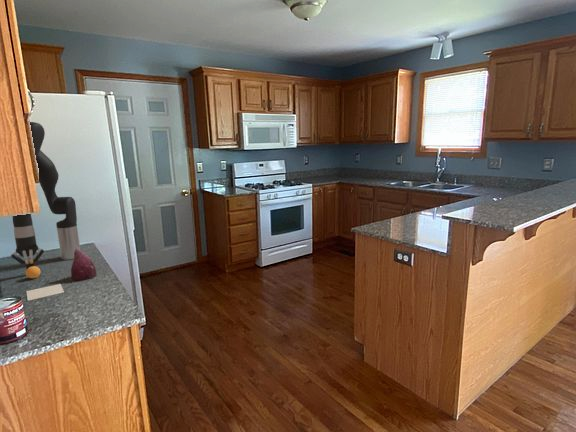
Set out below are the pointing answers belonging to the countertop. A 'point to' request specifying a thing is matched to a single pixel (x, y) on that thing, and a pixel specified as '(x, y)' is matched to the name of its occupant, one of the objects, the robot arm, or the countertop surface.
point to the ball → (33, 272)
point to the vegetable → (82, 267)
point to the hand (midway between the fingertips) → (30, 271)
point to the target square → (44, 292)
